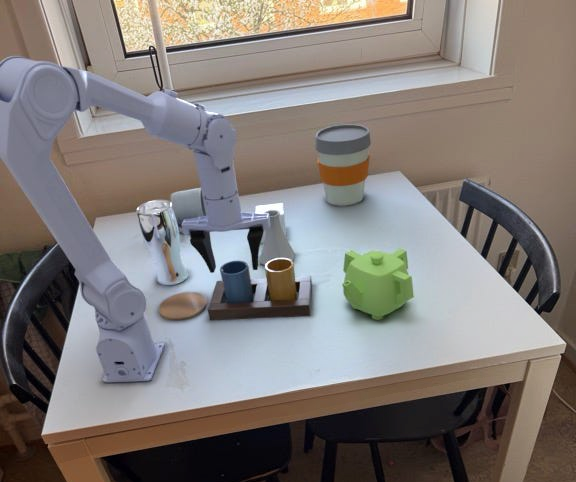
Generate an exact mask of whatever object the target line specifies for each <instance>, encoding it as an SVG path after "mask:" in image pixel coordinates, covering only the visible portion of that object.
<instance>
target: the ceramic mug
mask: <svg viewBox="0 0 576 482" xmlns="http://www.w3.org/2000/svg"><path fill="white" fill-rule="evenodd" d="M168 201H170V202H171V205H172V208H173V211H174V214H175V217H176V220H177V224H178V225H182V223H183V221H184V220H186V219H193V218H198V217H203V216H207V215H206V210H205V206H204V201H203V196H202V191H201V187H197V188H191V189H185V190H179V191H175V192H173V193H171V194H170V195H169V196H168ZM178 228H179V233H181V234H184V233H183V229H182V227H180V226H178Z"/></svg>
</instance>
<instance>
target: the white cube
mask: <svg viewBox="0 0 576 482" xmlns="http://www.w3.org/2000/svg"><path fill="white" fill-rule="evenodd" d="M254 210H255V211H254V213H257V214H264V212H266V211H268V210H277V211H280V215H279V220H280V224H281V227H282V230H283V232H284V234H285V236H286V237H287V227H286V218H285V209H284V203H283V202H278V203H271V204H270V203H269V204H262V205H255V209H254ZM265 234H266V230H264V232H263V236H262V240H261V243H260V245H261V244H264V239H265Z"/></svg>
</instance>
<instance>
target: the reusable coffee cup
mask: <svg viewBox="0 0 576 482" xmlns="http://www.w3.org/2000/svg"><path fill="white" fill-rule="evenodd" d="M314 141H315V144H314V145H315V147H314V149H315V150H316V152H317V161H316V162H317V167H318V172H319V177H320V181H321V182H322V184H323V190H324V195H325V200H326V202H327V203H328V204H330V205H333V206H339V207H340V206H341V207H342V206H351V205H356V204H358V203H359V202H361V201H362V200H363V199H364V194H365V185H366V179H367V178H368V175H369V166H370V154H369V149H370V146H371V144H372V142H371V134H370V129H369V128H368V127H367V126H364V125H362V124H356V123H355V124H353V123H348V124H347V123H346V124H336V125H331V126H327V127H324V128H322V129H319V131H317V132H316V133H315V140H314Z"/></svg>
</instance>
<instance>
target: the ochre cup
mask: <svg viewBox="0 0 576 482" xmlns="http://www.w3.org/2000/svg"><path fill="white" fill-rule="evenodd" d="M293 261H294V260H293ZM293 261H292V260H290V259H288V258H276V259H272V260H270V261H268V262H267V263H266V264H265V265H264V271H265V278H266V279H267V286H268V293H269V297H268V301H279V300H298V292H297V290H296V280H295V277H296V273H295V262H293Z"/></svg>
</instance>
